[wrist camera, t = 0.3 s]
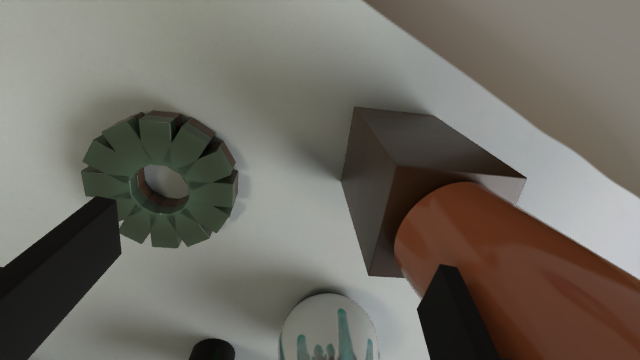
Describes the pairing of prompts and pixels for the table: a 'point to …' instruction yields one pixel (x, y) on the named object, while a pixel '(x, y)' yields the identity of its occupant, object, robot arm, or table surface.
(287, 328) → the vase
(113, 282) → the table surface
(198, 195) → the segmented green ring
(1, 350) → the robot arm
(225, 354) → the cup
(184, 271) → the table surface
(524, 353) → the orange glossy cylinder
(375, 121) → the dark brown rectangular block
